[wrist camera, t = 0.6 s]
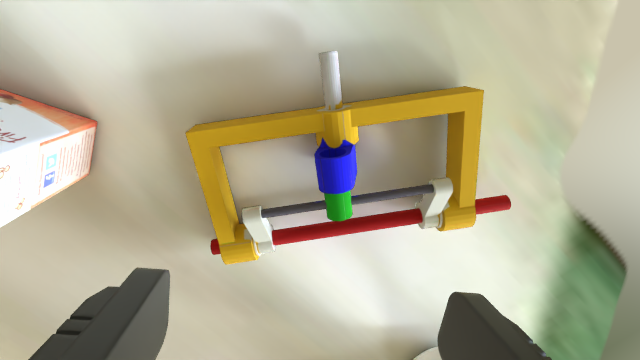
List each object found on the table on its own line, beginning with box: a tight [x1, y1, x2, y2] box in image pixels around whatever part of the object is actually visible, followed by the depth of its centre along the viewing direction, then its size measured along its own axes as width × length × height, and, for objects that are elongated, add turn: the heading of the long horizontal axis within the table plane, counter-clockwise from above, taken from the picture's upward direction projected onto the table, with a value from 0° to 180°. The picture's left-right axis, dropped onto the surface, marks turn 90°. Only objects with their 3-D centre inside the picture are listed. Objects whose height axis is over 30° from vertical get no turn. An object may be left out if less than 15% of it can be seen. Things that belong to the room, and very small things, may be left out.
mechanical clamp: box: [186, 51, 511, 264], centre depth 28 cm, size 18×6×30 cm
